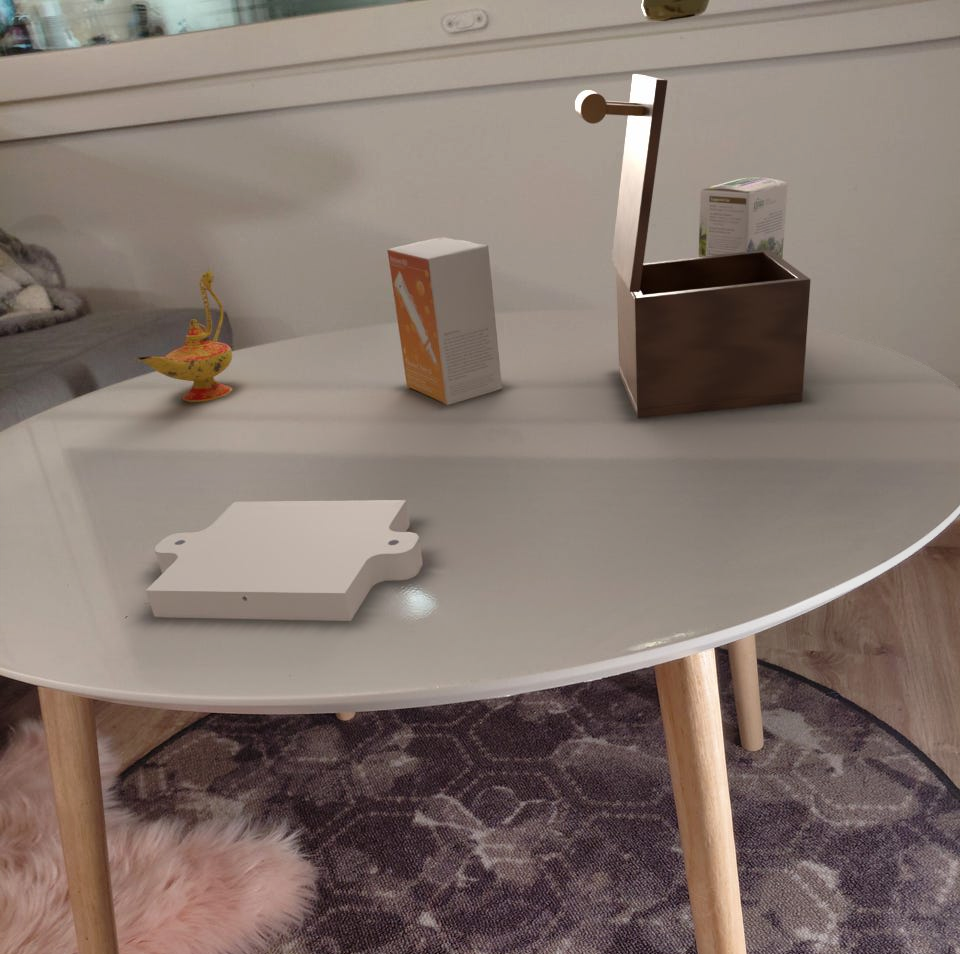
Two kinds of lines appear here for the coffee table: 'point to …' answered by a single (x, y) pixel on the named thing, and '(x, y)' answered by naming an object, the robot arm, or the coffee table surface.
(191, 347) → the magic lamp
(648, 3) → the cup
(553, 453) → the coffee table surface
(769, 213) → the syrup box
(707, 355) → the compartment
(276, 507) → the mounting plate
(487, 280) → the small box
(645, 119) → the lid
